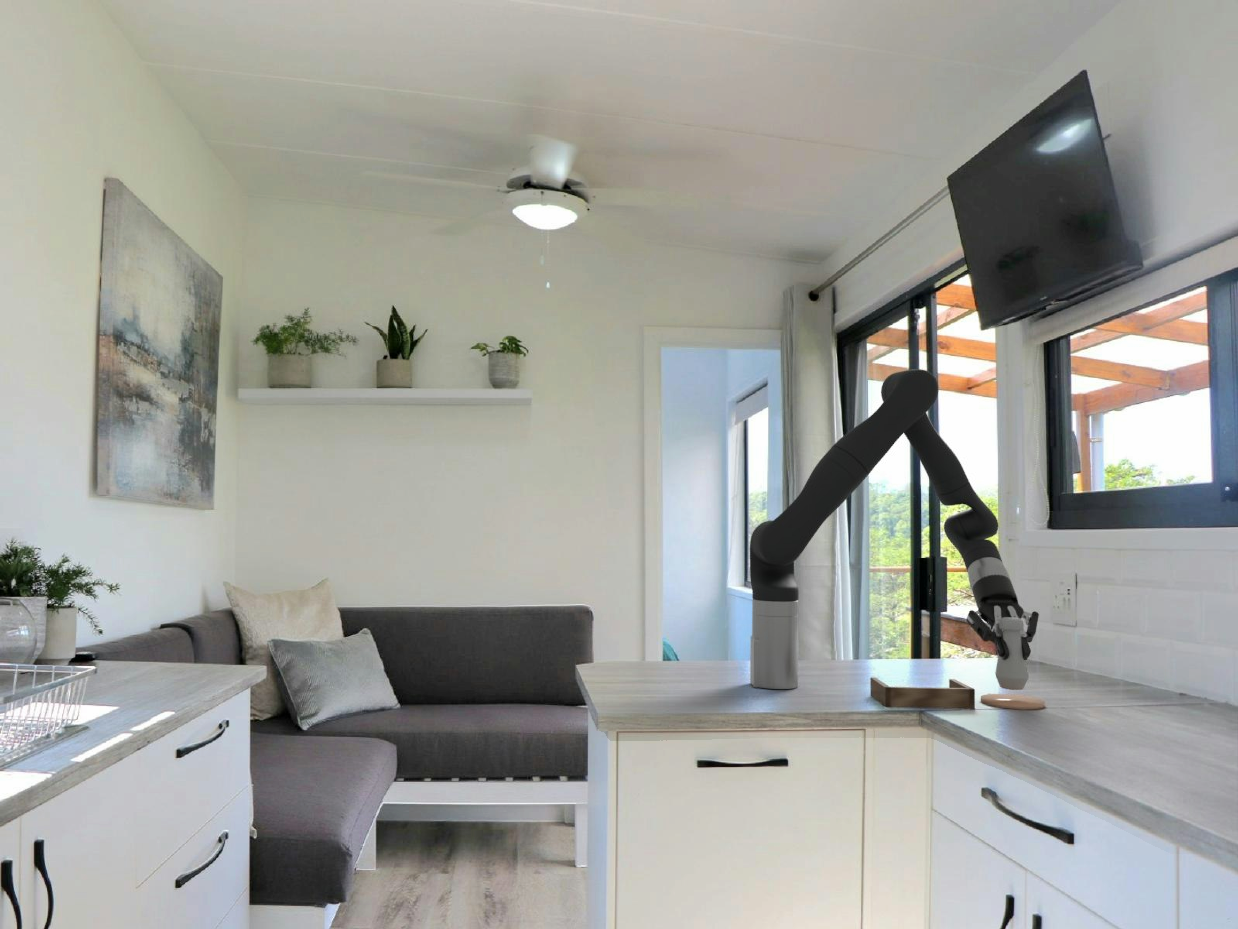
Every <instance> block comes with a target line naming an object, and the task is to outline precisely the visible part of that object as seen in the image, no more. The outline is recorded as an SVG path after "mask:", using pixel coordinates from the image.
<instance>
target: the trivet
mask: <svg viewBox="0 0 1238 929" xmlns="http://www.w3.org/2000/svg"><path fill="white" fill-rule="evenodd" d="M980 703H981V704H984V705H987V706H991V707H995V708H1001V709H1010V710H1012V709H1013V710H1023V711H1024V710H1028V711H1029V710H1040V709H1044V708H1045V707H1046V704H1045V703H1046V702H1045V701H1044V700H1043V699H1041V698H1038V697H1033V696H1030V695H1029V696H1026V695H1020V694H1011V693H1010V694H1009V693H987V694H982V695H981V696H980Z"/></svg>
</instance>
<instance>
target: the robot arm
mask: <svg viewBox="0 0 1238 929" xmlns="http://www.w3.org/2000/svg"><path fill="white" fill-rule="evenodd" d="M880 395H881V399H882V403H881V405H880V406H879V407H878V408H877V409H876V410H875V411H874V413H872V414H871V415H870V416H869V417H867V418H866V419H864V420H863V421H861V422H860V423H859V424H857V425H856V426H855V427H854V428H852V429H851V430H849V431H848V432H847V433H846V434H844V435H843V436H842V437H841V438H839V439H838V441H836V442H835V443H834V444H833V445H832V446H831V447H830V448H829V450H828V451H827V452H826V453H825V454H824V456H822V458H821V459H820V460H819V461H818V462H817V464H816V465H815V466H814V467H813V470H812V471H811V473H810V474H809V476H808V479H807V481H806V483H805V484H804V486H803V488H802V489H801V491H800V493H799V494H798V496H797V497H796V498H795V499H794V500H793V501H792V502H791V504H789V505H788V507H787V508H786V509H785V510H783V511H782V512H781V513H780V514H779V515H778V516H777V517H776V518H774V519H773V520H766V521H764V522H761V523H760V524H759V525H757V527H755V529H754V530H753V531H752V534H751V537H750V541H749V542H750V543H749V578H750V580H749V581H750V586H751V591H752V594H751V597H752V600H751V601H752V611H751V612H752V613H751V614H752V615H751V616H752V618H751V621H752V622H751V623H752V624H751V625H752V626H751V628H752V629H751V635H750V658H749V659H750V664H749V665H750V666H749V667H750V672H749V673H750V674H749V675H750V678H749V680H750V684H751V685H752V687H753V688H761V689H762V688H763V689H771V690H787V689H789V690H790V689H795V688H798V687H799V594H800V593H799V587H798V584H797V581H796V576H795V561H797V560H798V559H799V557H800V556H801V555H802V553H803V552H804V550H805V549H806V547H807V546H808V544H809V543H810V541H811V540H812V539H813V537H814V536H815V534H816V533H817V532H818V530H819V529H820V528H821V526H822V525H823V524H824V523H825V521H826V520H827V519H828V518H829V517H830V516H831V515H832V514H833V513H835V511H837V509H838V508H839V507H840V506H841V505H842V504H844V502H845V501H846V500H847V499H848V498H849V497H850V496H851V494H852V493H854V491H856V489H857V488H858V487H860V485H861V484H862V483H863V481H864V480H865V479H866V478H867V477H868V476H869V474H871V473H872V471H873V470H874V468H875V467H876V466H877V465H878V464H879V463H880V461H882V459H883V458H884V457H885V456H886V455H887V453H888V452H889V451H890V450H891V448H892V447H893V446H894V445H895V443H896V442H897V441H898V440H899V439H900V437H901V436H902V435H905V437H906V439H907V440H908V442H909V444H910V445H911V447H912V449H913V450H914V452H915V454H916V456H917V457H918V459H919V461H920V462H921V464H922V468H924V471H925V473H926V474H927V477H928V479H929V481H930V483H931V486H932V487H933V489H934V493H935V494H936V496H937V498H938V500H939V503H941V505H943V506H946V507H948V506H949V507H950V506H958V505H965V506H968V507H969V508H968V509H965V510H962V511H959V512H958V513H955V514H952V515H950V516H948V517H946V520H945V521H944V524H943V531H944V533H945V535H946V537H947V539H948V540H949V542H950V543H951V544H952V545H953V547H954V548H955V549H956V550H957V552H958V553H959V554H960V556H961V558H962V561H963V562H964V566H965V570H966V572H967V575H968V576H967V577H968V584H969V588H970V589H971V591H972V595H973V598H974V601H975V604H976V608H977V609H978V610H973V609H972V610H971V609H970V610H969V611H968V614H967V616H966V618H965V621H966V622H967V624H968V625H969V626H970V627H971V628H972V629H973V631H974V632H975V633H976V634H977V635H978V636H979V638H980V639H981V640H982V641H984V642H986V643H987V642H991V643H993V644H994V647H995V650H996V652H997V655H999V656H1000V657H1002V659H1003V660H1006V659H1008V657H1009V650H1008V647H1007V644H1006V642H1005V641H1004V640H1003V637H1002V631H1003V630H1001V629H1000V628H999V620H1000V619H1001V618H1004V617H1014V618H1019V619H1021V620H1022V619H1023V621H1024V624H1025V625H1026V626H1027V627H1026V631H1025V629H1023V630H1022V631H1020V634H1021V642H1022V651H1023V659H1024V660H1026V661H1027V660H1028V659H1029V657H1030V655H1031V652H1032V650H1031V646H1030V645H1029V643H1032V642H1033V639H1034V637H1035V635H1036V632H1037V627H1038V620H1039V616H1040V614H1039V612H1037V611H1035V610H1034V611H1032V613H1031V612H1027V611H1026V610H1024V609H1023V607H1022V606H1021V605H1020V603H1019V600H1018V596H1017V594H1016V591H1015V588H1014V586H1013V583H1012V580H1011V578H1010V575H1009V572H1008V569H1007V568H1006V567H1005V565H1004V563H1003V559H1002V558H1001V554H1000V551H999V548H998V547H997V545H996V543H994V542H993V541H992V540H989V538H992V537H994V536H995V535H996V534H997V533H998V529H999V522H998V519H997V517H996V515H995V514H994V512H993V511H992V510H991V509H990V508H989V507H988V506H987V504H985V502H984V501H983V500H982V499H981V498H980V496H979V495H978V494H977V492H976V490H974V488H973V486H972V485H971V483H970V481H969V479H968V476H967V474H966V472H965V470H964V467H963V466H962V463H961V461H960V460H959V459H958V457H957V456H956V453H955V452H954V451H953V450H952V448H951V447H950V446H949V445H948V444H947V442H945V440H944V439H943V438H942V436H941V435H940V434H939V432H938V431H937V430H936V428H935V427H934V425H933V424H932V422H931V420H930V418H929V415H928V413H927V412H928V411H929V410H930V409H932V407H933V406H934V404H935V403H936V401H937V399H938V395H939V382H938V380H937V378H936V376H935V375H934V374H933V373H932V372H930V371H928V370H926V369H920V368H913V369H905V370H901V371H896V372H893V373H891V374H889V375H888V376H887V377H886V378H885V379H884V381H883V383H882V385H881V389H880ZM988 625H989V626H988Z"/></svg>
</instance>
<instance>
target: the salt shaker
mask: <svg viewBox="0 0 1238 929" xmlns="http://www.w3.org/2000/svg"><path fill="white" fill-rule="evenodd" d="M1024 626H1025V623H1024V620H1022V618H1021V619H1019V618H1014V617H1004V618H1001V619H1000V620H999V628H1000V629H1001V630H1002V637H1003V640H1004V641H1005V642H1006V644H1007V647H1008V650H1009V657H1008V659H1006V660H1003V659H1002V657H1000V656H999V655H998V654H997V655H998V656H997V661H996V665H995V666H996V667H995V678H996V680H997V683H998V684H999V687H1000V688H1001V689H1005V690H1009V691H1010V690H1012V691H1017V690H1018V691H1021V690H1022V691H1023V689H1025V686H1026V684H1027V683H1028V680H1029V677H1030V676H1029V672H1028V667H1027V666H1028V665H1027V660H1024V659H1023V651H1022V642H1021V634H1020V631H1022V630H1023V629H1024V628H1025V627H1024ZM1024 630H1025V629H1024Z"/></svg>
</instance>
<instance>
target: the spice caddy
mask: <svg viewBox="0 0 1238 929" xmlns="http://www.w3.org/2000/svg"><path fill="white" fill-rule="evenodd" d="M948 683H949V684H948V685H949V686H948V687H931V686H929V687H927V686H924V687H923V686H922V687H921V686H919V687H918V686H889V684H886V683H885V682H883V681H882V680H880V679H879V678H877V677H870V694H869V695H870V697H871V698H872V699H874V700H875V701H876V702H878V703H879V704H880V705H882V706H883V707H885V708H907V709H910V708H915V709H956V710H959V709H960V710H961V709H962V710H976V707H975V705H976V702H975V701H976V696H975V695H976V693H975V692H976V690H975V688H974V687H971V686H969V685H967V684H966V683H963V682H961V681H959V680H957V679H954V678H949V679H948Z"/></svg>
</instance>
